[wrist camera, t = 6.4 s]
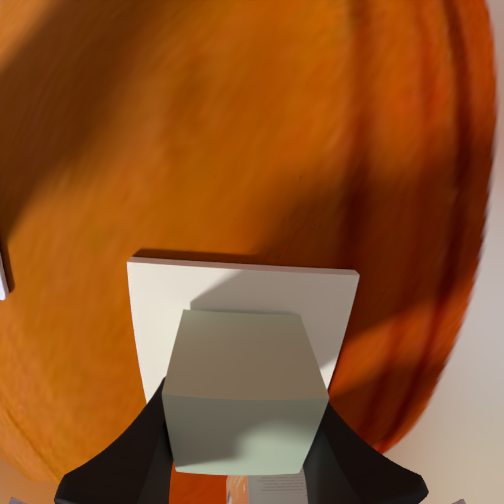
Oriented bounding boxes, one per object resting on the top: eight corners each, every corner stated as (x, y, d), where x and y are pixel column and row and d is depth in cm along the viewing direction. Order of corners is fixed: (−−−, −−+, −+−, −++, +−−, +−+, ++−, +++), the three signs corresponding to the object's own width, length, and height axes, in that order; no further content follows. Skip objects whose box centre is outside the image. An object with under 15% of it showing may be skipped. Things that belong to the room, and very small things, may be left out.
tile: (151, 409, 16) (149, 416, 16) (131, 256, 13) (126, 261, 12) (313, 415, 17) (315, 421, 16) (355, 270, 13) (359, 275, 13)
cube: (187, 390, 14) (176, 471, 10) (183, 309, 13) (161, 394, 8) (284, 394, 15) (299, 473, 10) (300, 314, 13) (329, 397, 8)
